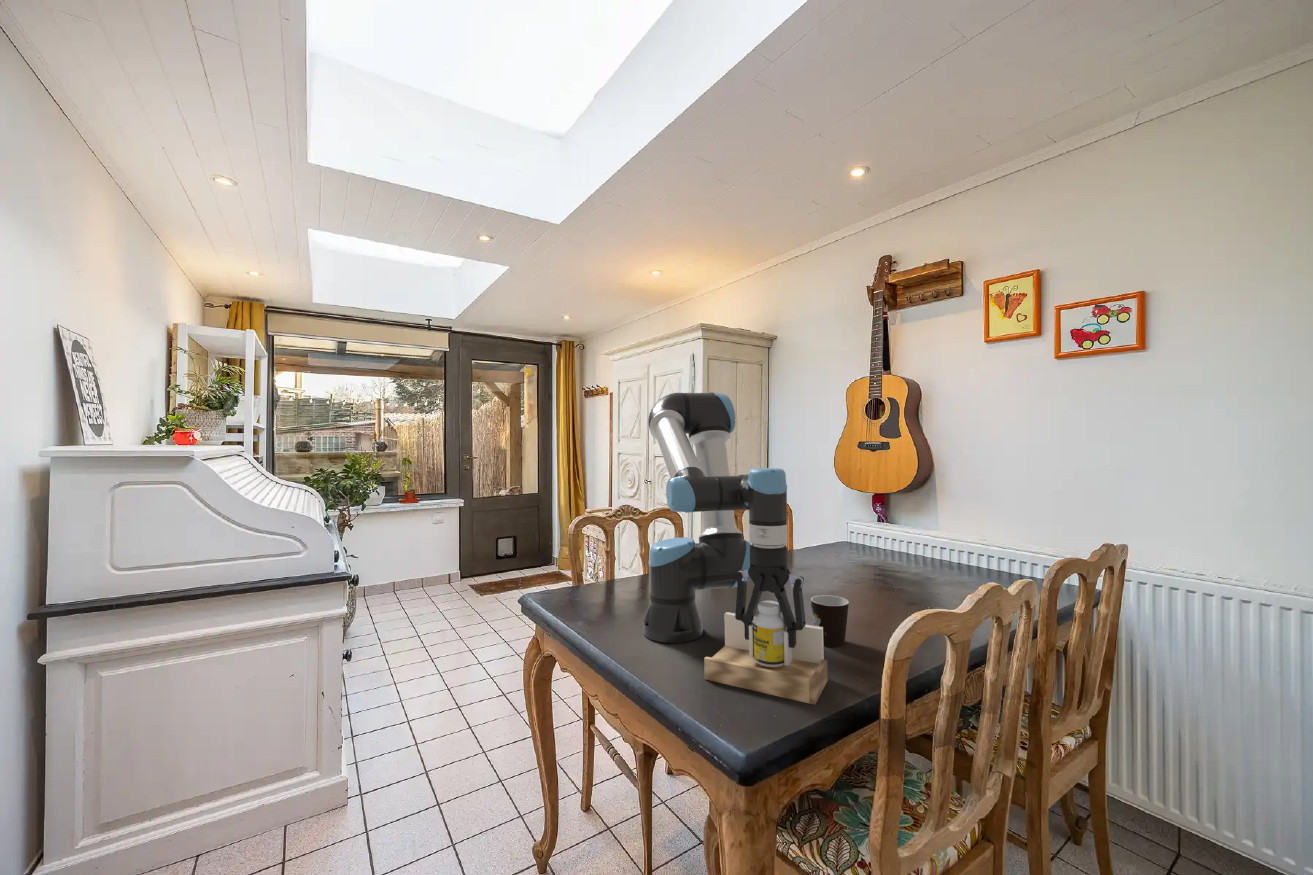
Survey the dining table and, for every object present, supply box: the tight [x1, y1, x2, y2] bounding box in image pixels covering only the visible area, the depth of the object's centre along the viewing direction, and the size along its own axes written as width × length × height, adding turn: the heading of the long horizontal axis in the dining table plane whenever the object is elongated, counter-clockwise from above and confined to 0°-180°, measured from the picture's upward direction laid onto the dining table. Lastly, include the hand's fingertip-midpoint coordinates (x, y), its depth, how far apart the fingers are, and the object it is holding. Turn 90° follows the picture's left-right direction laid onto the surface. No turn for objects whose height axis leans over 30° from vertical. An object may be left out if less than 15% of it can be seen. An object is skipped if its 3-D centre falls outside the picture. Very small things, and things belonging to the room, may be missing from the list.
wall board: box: [723, 611, 825, 664], centre depth 109 cm, size 21×2×10 cm, turn 60°
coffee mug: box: [810, 594, 850, 649], centre depth 124 cm, size 12×9×10 cm
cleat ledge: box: [703, 645, 829, 706], centre depth 104 cm, size 22×11×4 cm, turn 60°
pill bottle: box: [753, 600, 786, 667], centre depth 103 cm, size 6×6×12 cm
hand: (770, 659), depth 103 cm, fingers closed on pill bottle, 6 cm apart
